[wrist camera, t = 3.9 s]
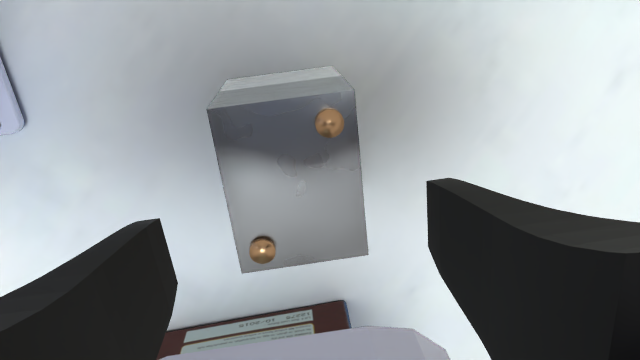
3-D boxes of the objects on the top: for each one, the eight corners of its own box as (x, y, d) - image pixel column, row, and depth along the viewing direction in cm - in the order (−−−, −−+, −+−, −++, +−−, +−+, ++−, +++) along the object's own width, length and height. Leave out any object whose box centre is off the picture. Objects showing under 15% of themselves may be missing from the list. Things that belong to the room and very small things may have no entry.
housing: (251, 203, 21) (240, 278, 16) (227, 79, 19) (204, 111, 13) (345, 190, 22) (370, 259, 16) (332, 65, 19) (356, 91, 13)
